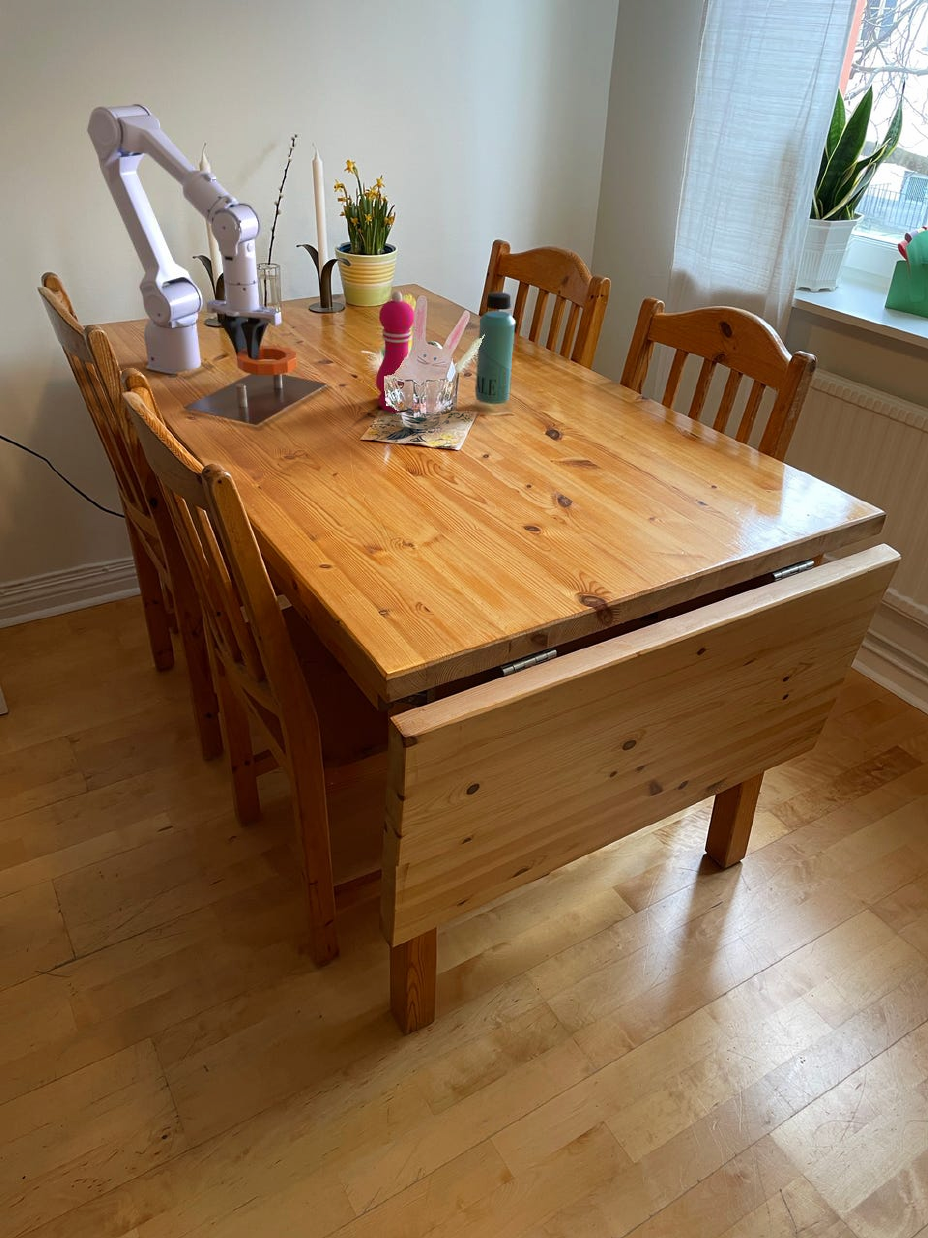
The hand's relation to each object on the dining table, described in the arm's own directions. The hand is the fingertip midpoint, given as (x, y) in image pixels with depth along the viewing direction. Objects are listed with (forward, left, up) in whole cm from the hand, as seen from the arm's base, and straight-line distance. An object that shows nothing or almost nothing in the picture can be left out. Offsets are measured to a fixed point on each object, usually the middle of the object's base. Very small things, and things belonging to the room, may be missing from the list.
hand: (247, 358), depth 163 cm
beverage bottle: (+43, +14, -5) cm, 46 cm away
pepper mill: (+28, +5, -5) cm, 29 cm away
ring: (+4, 0, -1) cm, 4 cm away
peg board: (+6, -5, -5) cm, 9 cm away
